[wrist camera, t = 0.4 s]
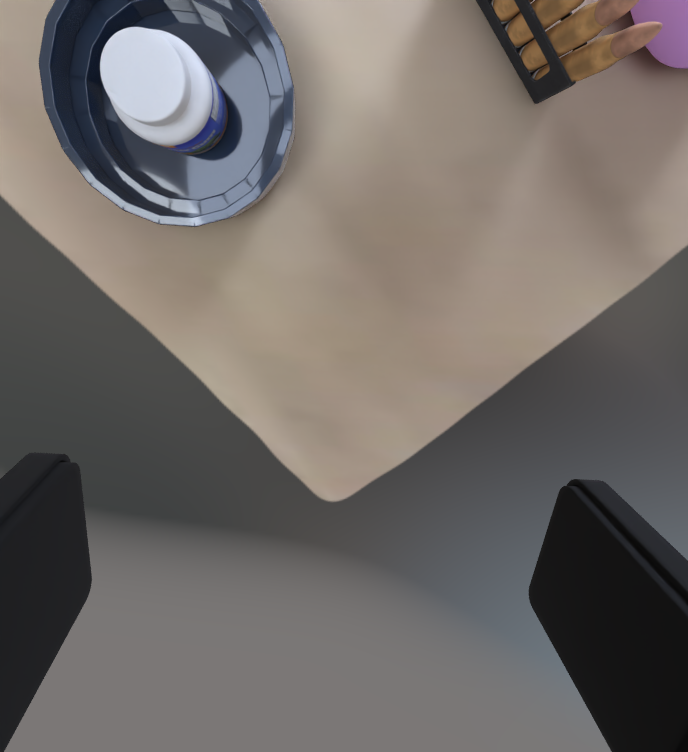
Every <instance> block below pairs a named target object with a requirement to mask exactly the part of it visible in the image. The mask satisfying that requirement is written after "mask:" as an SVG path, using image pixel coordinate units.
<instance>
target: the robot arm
mask: <svg viewBox="0 0 688 752" xmlns="http://www.w3.org/2000/svg"><path fill="white" fill-rule="evenodd" d="M91 581H92V576H91V567H90V557H89V548H88V539H87V530H86V520H85V511H84V502H83V493H82V484H81V475H80V468H79V466H78V464H77V463H71V462H70V459H69V457H68V456H67V455H65V454H50V453H49V454H48V453H29V454H28V455H26V456H25V457H24V458H23V459H22V460H20V461H19V463H17V464H16V465H15V466H14V467H13V468H12V469H11V470H10V471H9V472H8V473H6V474H5V475H4V476H3V477H2V478H1V479H0V752H4V750H5V748H6V747H7V745H8V743H9V741H10V739H11V738H12V736H13V734H14V732H15V730H16V728H17V727H18V725H19V723H20V721H21V719H22V717H23V716H24V713H25V712H26V710H27V708H28V706H29V704H30V703H31V701H32V699H33V697H34V695H35V694H36V692H37V690H38V688H39V686H40V684H41V682H42V681H43V679H44V677H45V675H46V673H47V671H48V670H49V668H50V666H51V664H52V662H53V660H54V659H55V657H56V655H57V653H58V651H59V649H60V647H61V646H62V644H63V642H64V640H65V638H66V637H67V635H68V633H69V631H70V629H71V627H72V625H73V624H74V622H75V620H76V618H77V616H78V614H79V613H80V611H81V609H82V607H83V605H84V603H85V602H86V600H87V597H88V595H89V592H90V588H91ZM529 599H530V603H531V606H532V608H533V610H534V612H535V613H536V615H537V617H538V619H539V621H540V622H541V624H542V626H543V628H544V630H545V632H546V633H547V635H548V637H549V639H550V641H551V642H552V644H553V646H554V648H555V649H556V651H557V653H558V655H559V657H560V658H561V660H562V662H563V664H564V666H565V667H566V670H567V671H568V673H569V675H570V677H571V679H572V680H573V682H574V684H575V686H576V688H577V689H578V691H579V693H580V695H581V697H582V698H583V700H584V702H585V704H586V706H587V708H588V709H589V711H590V713H591V715H592V717H593V718H594V720H595V722H596V724H597V726H598V728H599V729H600V731H601V733H602V735H603V737H604V738H605V740H606V742H607V744H608V746H609V747H610V749H611V751H612V752H688V561H687V560H686V559H685V558H684V557H683V556H682V555H681V554H680V553H679V552H678V551H677V550H676V549H675V548H674V547H673V546H672V545H671V544H670V543H668V542H667V541H666V540H665V539H664V538H663V537H662V536H661V535H660V534H659V533H658V532H657V531H656V530H655V529H654V528H653V527H652V526H651V525H649V523H647V522H646V521H645V520H644V519H643V518H642V517H641V516H640V515H639V514H638V513H637V512H636V511H635V510H634V509H633V508H632V507H631V506H630V505H629V504H628V503H627V502H625V501H624V500H623V499H622V498H621V497H620V496H619V495H618V494H617V493H616V492H615V491H614V490H613V489H612V488H611V487H610V486H609V485H608V484H606V483H605V482H603V481H599V480H580V479H574V480H571V481H570V482H569V483H568V484H567V486H564V487H562V488H561V489H560V491H559V494H558V497H557V500H556V503H555V507H554V510H553V513H552V516H551V519H550V522H549V526H548V529H547V532H546V535H545V539H544V542H543V545H542V548H541V551H540V555H539V558H538V561H537V564H536V567H535V571H534V574H533V577H532V580H531V584H530V586H529Z"/></svg>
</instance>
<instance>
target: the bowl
mask: <svg viewBox="0 0 688 752" xmlns="http://www.w3.org/2000/svg"><path fill="white" fill-rule="evenodd" d="M129 27H142V28H147V29H156V30H162V31H165V32H168V33H170V34H172V35H174V36H176V37H178V38H180V39H181V40H182V41H184V42H185V43H186V44H187V45H189V46H190V47H191V48H192V50H193V51H194V52H195V53H196V54H197V55H198V57H199V58H200V59H201V61H202V62H203V63H204V65H205V66H206V67H207V69H208V70H209V71H210V73H211V74H212V75H213V77H214V78H215V79H216V81H217V82H218V83H219V85H220V87H221V89H222V91H223V93H224V96H225V99H226V103H227V109H228V120H227V126H226V129H225V132H224V134H223V136H222V138H221V140H220V141H219V142H218V143H217V144H216V145H215V146H214V147H213V148H212V149H210V150H208V151H206V152H204V153H201V154H194V155H189V154H182V153H178V152H176V151H173V150H170V149H168V148H165V147H162V146H160V145H157V144H154V143H152V142H149V141H147V140H145V139H143V138H141V137H140V136H138V135H137V134H135V133H134V132H133V131H131V130H130V129H129V128H128V127H127V126H126V125H125V124H124V123H123V121H122V120H121V119H120V118H119V116H118V115H117V113H116V111H115V109H114V107H113V105H112V103H111V100H110V98H109V96H108V94H107V92H106V90H105V88H104V85H103V82H102V79H101V73H100V60H101V54H102V51H103V49H104V46H105V44H106V43H107V41H108V40H109V39H110V38H111V37H112V36H113V35H114V34H115V33H117V32H118V31H120V30H122V29H125V28H129ZM39 69H40V76H41V83H42V91H43V98H44V105H45V109H46V112H47V114H48V116H49V119H50V121H51V123H52V126H53V128H54V130H55V133H56V135H57V137H58V140H59V142H60V144H61V147H62V149H63V151H64V152H65V153H66V155H67V156H68V157H69V159H70V160H71V161H72V163H73V164H74V165H75V166H76V168H77V169H78V170H79V172H80V173H81V174H82V175H83V177H84V178H85V179H86V181H87V182H88V183H89V184H90V185H91V186H92V187H93V188H95V189H96V190H97V191H99V192H100V193H101V194H102V195H104V196H105V197H106V198H108V199H109V200H110V201H112V202H113V203H114V204H116V205H117V206H118V207H120V208H121V209H122V210H124V211H126V212H129V213H131V214H134V215H137V216H139V217H142V218H144V219H147V220H149V221H152V222H154V223H157V224H161V225H175V226H189V227H197V226H201V225H205V224H209V223H212V222H216V221H220V220H224V219H228V218H231V217H234V216H237V215H240V214H241V213H242V212H244V211H245V210H247V209H248V208H250V207H251V206H253V205H254V204H256V203H257V202H259V201H260V200H262V199H263V198H264V197H265V196H266V195H267V193H268V192H269V191H270V189H271V188H272V186H273V185H274V184H275V182H276V181H277V180H278V178H279V177H280V176H281V174H282V173H283V171H284V168H285V165H286V163H287V160H288V157H289V154H290V151H291V148H292V145H293V142H294V134H295V94H294V86H293V82H292V78H291V74H290V70H289V66H288V62H287V58H286V54H285V50H284V46H283V44H282V41H281V39H280V38H279V36H278V34H277V32H276V30H275V29H274V27H273V25H272V23H271V21H270V20H269V18H268V16H267V14H266V12H265V11H264V9H263V7H262V5H261V4H260V3H259V1H258V0H55V2H54V4H53V6H52V8H51V9H50V11H49V13H48V15H47V18H46V20H45V26H44V32H43V38H42V45H41V51H40V57H39Z"/></svg>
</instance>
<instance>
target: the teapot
mask: <svg viewBox="0 0 688 752" xmlns="http://www.w3.org/2000/svg"><path fill="white" fill-rule="evenodd" d="M631 14H632V18H633V21H634V24H635V25H637V24H640V23H645V22H653V21H654V22H659V23H661V24H662V29H661V30H660V32H659V33H658V34H657V35H656V36H655V37H654V38H653V39H652V40H651V41H650V42H649V43H647V44H646V45H645V46H646V47H647V49H648V50H649V51H650V53H651V54H652V55H653V56H654V57H655V58H656V59H657V60H658V61H660V62H661V63H663V64H665V65H667V66H671V67H674V68H688V0H639V1H638V3H637V4H636V5H635V6H634V7H633V8H632V9H631Z"/></svg>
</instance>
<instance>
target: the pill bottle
mask: <svg viewBox="0 0 688 752" xmlns="http://www.w3.org/2000/svg"><path fill="white" fill-rule="evenodd" d="M100 73H101V79H102V82H103V85H104V88H105V90H106V92H107V94H108V96H109V98H110V100H111V103H112V105H113V107H114V109H115V111H116V113H117V115H118V116H119V118H120V119H121V120H122V121H123V123H124V124H125V125H126V126H127V127H128V128H129V129H130V130H131V131H133V132H134V133H135V134H137V135H138V136H140V137H141V138H143V139H145V140H147V141H149V142H152V143H154V144H157V145H160V146H162V147H165V148H168V149H170V150H173V151H176V152H178V153H182V154H189V155H194V154H201V153H204V152H206V151H208V150H210V149H212V148H213V147H214V146H215V145H216V144H217V143H218V142H219V141H220V140H221V138H222V136H223V134H224V132H225V129H226V126H227V120H228V109H227V103H226V99H225V96H224V93H223V91H222V89H221V87H220V85H219V83H218V82H217V81H216V79H215V78H214V77H213V75H212V74H211V73H210V71H209V70H208V69H207V67H206V66H205V65H204V63H203V62H202V61H201V59H200V58H199V57H198V55H197V54H196V53H195V52H194V51H193V50H192V48H191V47H190V46H189V45H187V44H186V43H185V42H184V41H182V40H181V39H180V38H178V37H176V36H174V35H172V34H170V33H168V32H165V31H162V30H156V29H147V28H142V27H129V28H125V29H122V30H120V31H118V32H117V33H115V34H114V35H113V36H112V37H111V38H110V39H109V40H108V41H107V43H106V44H105V46H104V49H103V51H102V54H101V60H100Z"/></svg>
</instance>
